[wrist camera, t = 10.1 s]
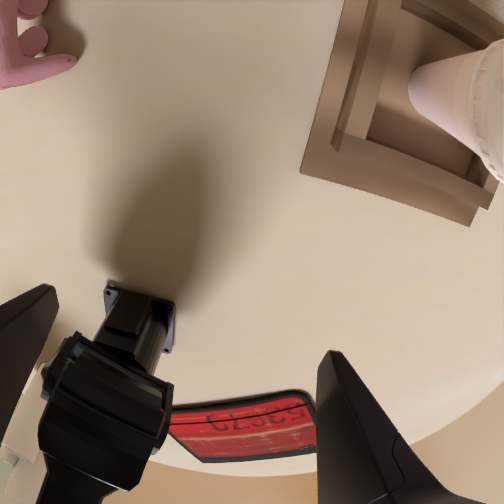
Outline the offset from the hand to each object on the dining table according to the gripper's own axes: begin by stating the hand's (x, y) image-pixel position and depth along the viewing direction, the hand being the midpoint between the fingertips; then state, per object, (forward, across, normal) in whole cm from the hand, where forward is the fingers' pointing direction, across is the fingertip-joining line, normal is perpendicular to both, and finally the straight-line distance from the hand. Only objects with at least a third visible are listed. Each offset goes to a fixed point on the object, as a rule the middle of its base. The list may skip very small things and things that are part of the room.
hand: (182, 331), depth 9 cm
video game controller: (+13, +16, -11) cm, 23 cm away
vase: (+13, +20, +34) cm, 42 cm away
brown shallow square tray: (+13, -11, -10) cm, 20 cm away
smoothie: (+13, -11, -10) cm, 19 cm away
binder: (+14, -7, +32) cm, 35 cm away
